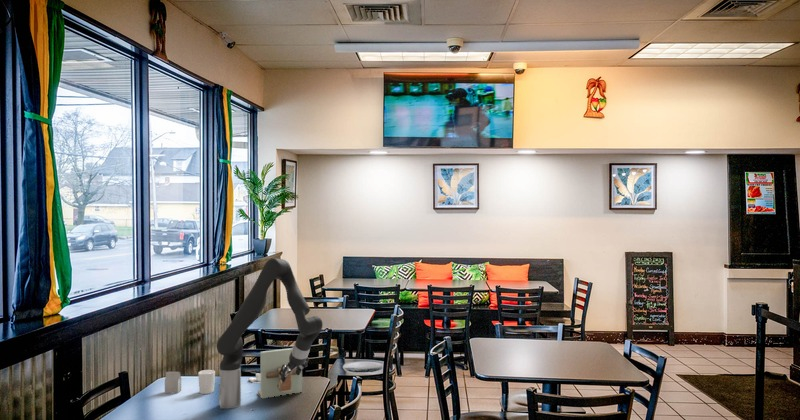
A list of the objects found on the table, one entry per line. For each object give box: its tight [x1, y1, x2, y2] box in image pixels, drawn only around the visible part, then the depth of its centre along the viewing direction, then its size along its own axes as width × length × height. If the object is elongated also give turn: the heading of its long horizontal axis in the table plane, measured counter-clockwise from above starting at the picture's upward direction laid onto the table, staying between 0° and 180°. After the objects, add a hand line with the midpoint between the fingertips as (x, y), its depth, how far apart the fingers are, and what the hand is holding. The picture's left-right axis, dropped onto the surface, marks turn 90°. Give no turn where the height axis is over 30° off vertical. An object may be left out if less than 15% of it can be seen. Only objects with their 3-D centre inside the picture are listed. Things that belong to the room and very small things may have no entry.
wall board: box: [257, 347, 303, 399], centre depth 276 cm, size 11×20×22 cm, turn 117°
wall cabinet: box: [277, 367, 292, 393], centre depth 269 cm, size 9×5×10 cm, turn 27°
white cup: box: [198, 369, 216, 395], centre depth 279 cm, size 8×8×10 cm
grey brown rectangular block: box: [164, 371, 182, 394], centre depth 280 cm, size 4×7×10 cm, turn 87°
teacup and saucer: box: [248, 372, 261, 384], centre depth 298 cm, size 9×8×4 cm
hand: (290, 377), depth 258 cm, fingers open, 8 cm apart
